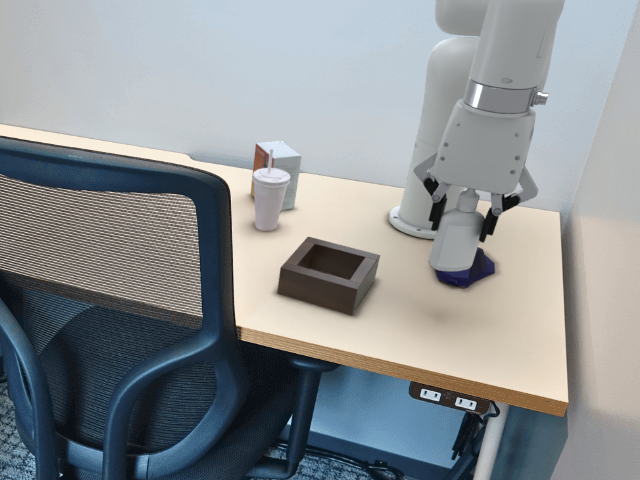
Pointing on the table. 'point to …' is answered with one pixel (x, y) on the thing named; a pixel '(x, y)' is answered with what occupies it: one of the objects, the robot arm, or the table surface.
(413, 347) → the table surface
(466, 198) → the eye dropper bottle
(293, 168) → the small box
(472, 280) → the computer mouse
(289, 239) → the table surface
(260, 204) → the smoothie
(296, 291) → the holder
